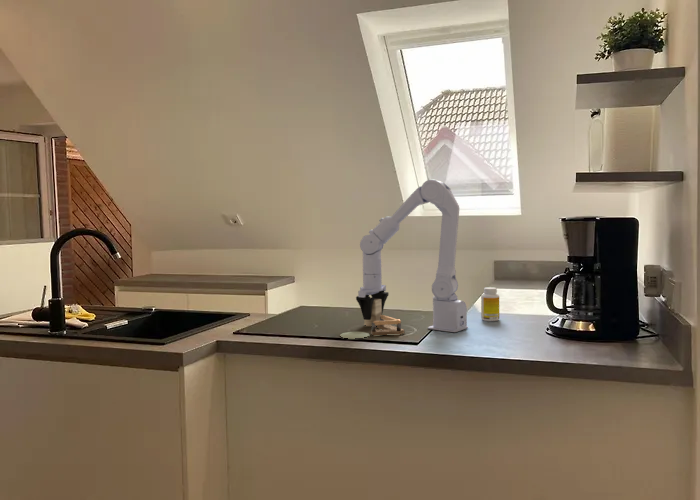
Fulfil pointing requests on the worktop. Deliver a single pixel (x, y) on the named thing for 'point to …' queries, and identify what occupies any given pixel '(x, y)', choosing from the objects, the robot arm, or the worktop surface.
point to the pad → (354, 335)
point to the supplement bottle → (490, 304)
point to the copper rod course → (386, 326)
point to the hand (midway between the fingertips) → (373, 317)
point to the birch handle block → (375, 312)
